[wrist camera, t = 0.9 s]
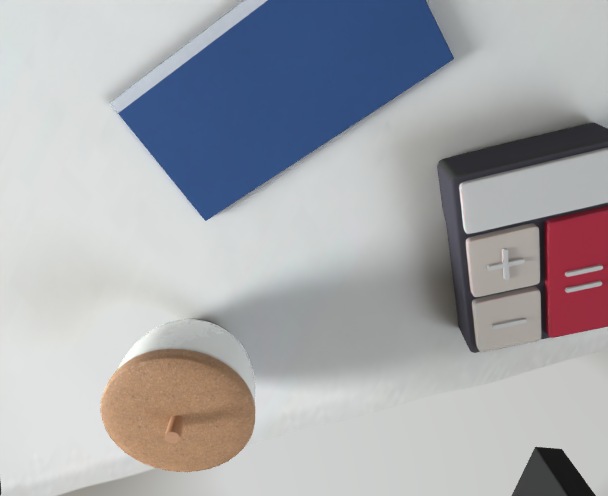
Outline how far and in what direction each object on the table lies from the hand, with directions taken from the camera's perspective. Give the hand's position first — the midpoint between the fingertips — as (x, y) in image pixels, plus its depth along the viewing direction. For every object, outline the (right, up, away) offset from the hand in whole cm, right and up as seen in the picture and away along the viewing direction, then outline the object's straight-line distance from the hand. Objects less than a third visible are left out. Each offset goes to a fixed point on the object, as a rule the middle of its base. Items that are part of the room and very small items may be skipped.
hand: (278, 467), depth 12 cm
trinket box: (-8, -3, +29) cm, 31 cm away
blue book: (-1, +16, +20) cm, 26 cm away
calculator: (+17, +6, +25) cm, 31 cm away
